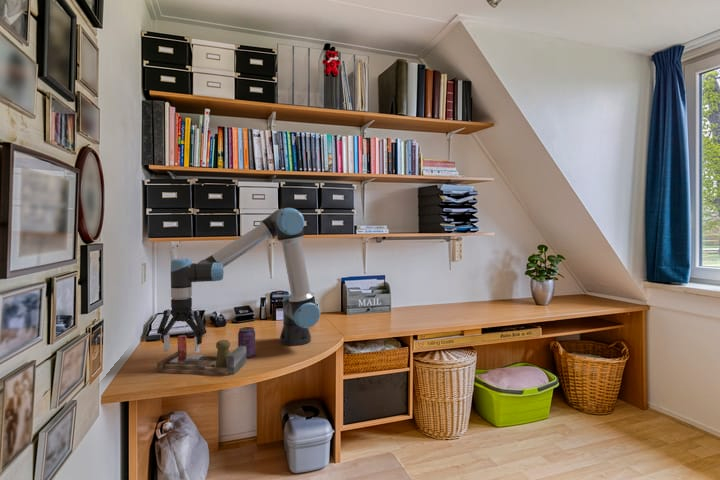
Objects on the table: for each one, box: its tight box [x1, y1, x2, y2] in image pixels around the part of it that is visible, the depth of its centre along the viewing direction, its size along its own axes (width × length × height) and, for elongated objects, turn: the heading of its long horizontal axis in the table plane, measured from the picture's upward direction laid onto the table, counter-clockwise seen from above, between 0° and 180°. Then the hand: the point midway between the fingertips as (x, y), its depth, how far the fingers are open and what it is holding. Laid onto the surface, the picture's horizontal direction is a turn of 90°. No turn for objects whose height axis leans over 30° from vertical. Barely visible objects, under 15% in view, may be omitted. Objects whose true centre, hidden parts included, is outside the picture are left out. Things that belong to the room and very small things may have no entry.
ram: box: [169, 334, 205, 365], centre depth 152 cm, size 11×8×11 cm
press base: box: [156, 346, 247, 376], centre depth 151 cm, size 30×14×7 cm, turn 85°
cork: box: [215, 339, 231, 368], centre depth 150 cm, size 6×6×11 cm
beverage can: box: [237, 326, 256, 359], centre depth 164 cm, size 7×7×12 cm
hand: (182, 351), depth 152 cm, fingers open, 12 cm apart
